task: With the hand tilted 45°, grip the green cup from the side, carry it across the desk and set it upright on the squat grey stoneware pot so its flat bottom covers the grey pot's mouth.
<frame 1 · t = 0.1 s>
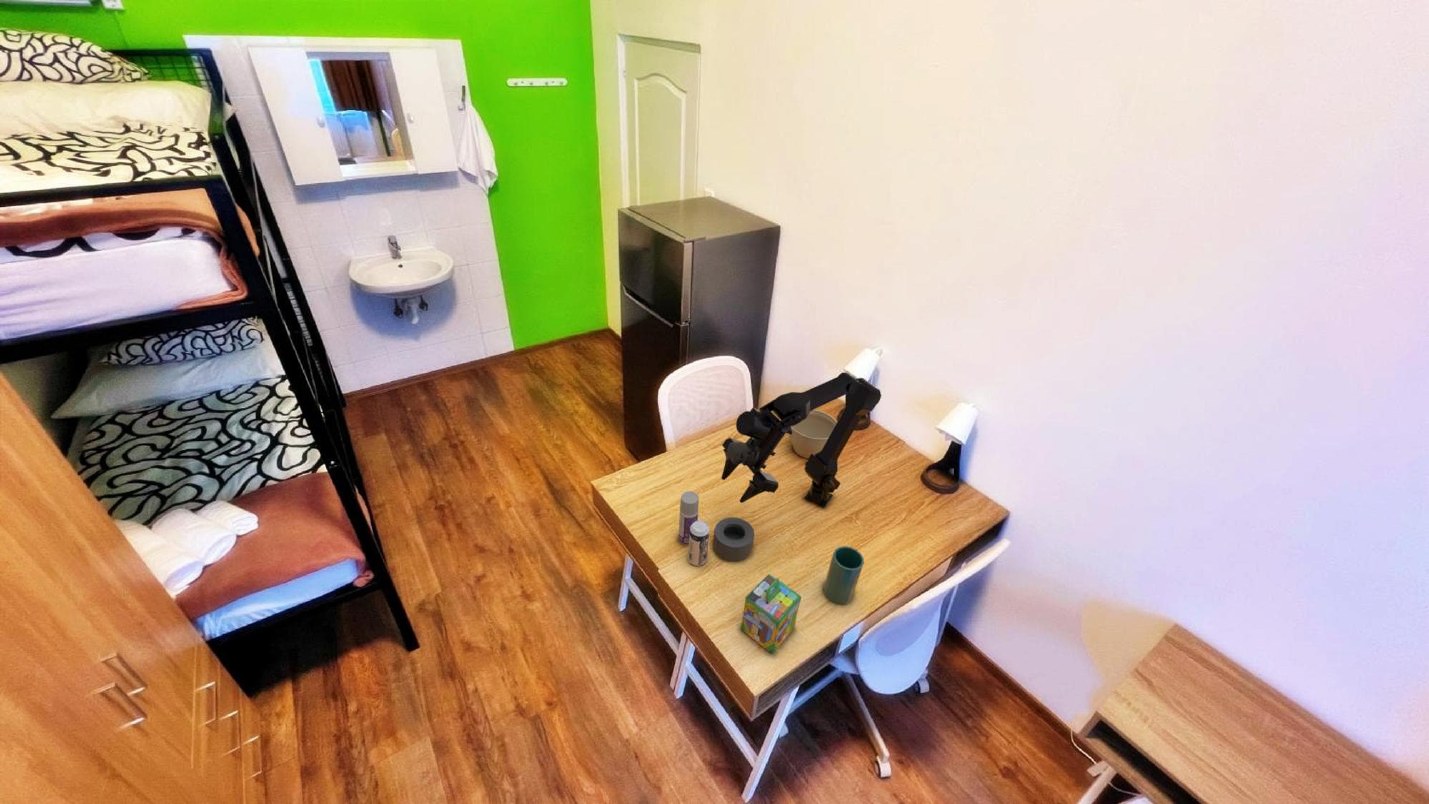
hand: (731, 490, 141), 15 cm above the table, tool tilted 35°, fingers open, 9 cm apart
grey capped bottle: (697, 559, 141), on the table
planter bowl: (808, 450, 182), on the table
grey pot: (732, 546, 145), on the table
chalk box: (767, 629, 126), on the table
green cup: (837, 592, 136), on the table
container: (687, 539, 146), on the table
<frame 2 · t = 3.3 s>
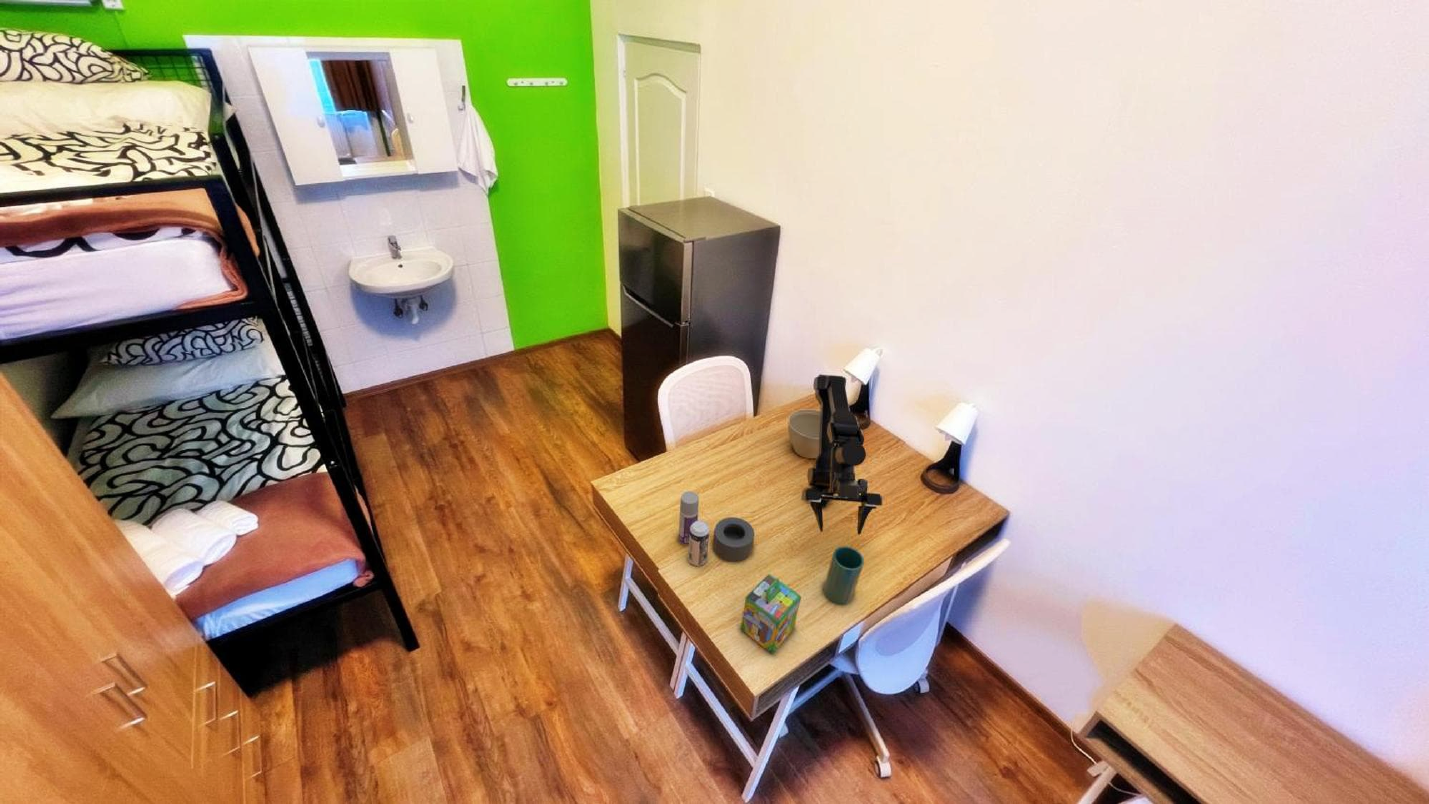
hand: (840, 533, 135), 13 cm above the table, tool tilted 45°, fingers open, 9 cm apart
nothing on the table moved.
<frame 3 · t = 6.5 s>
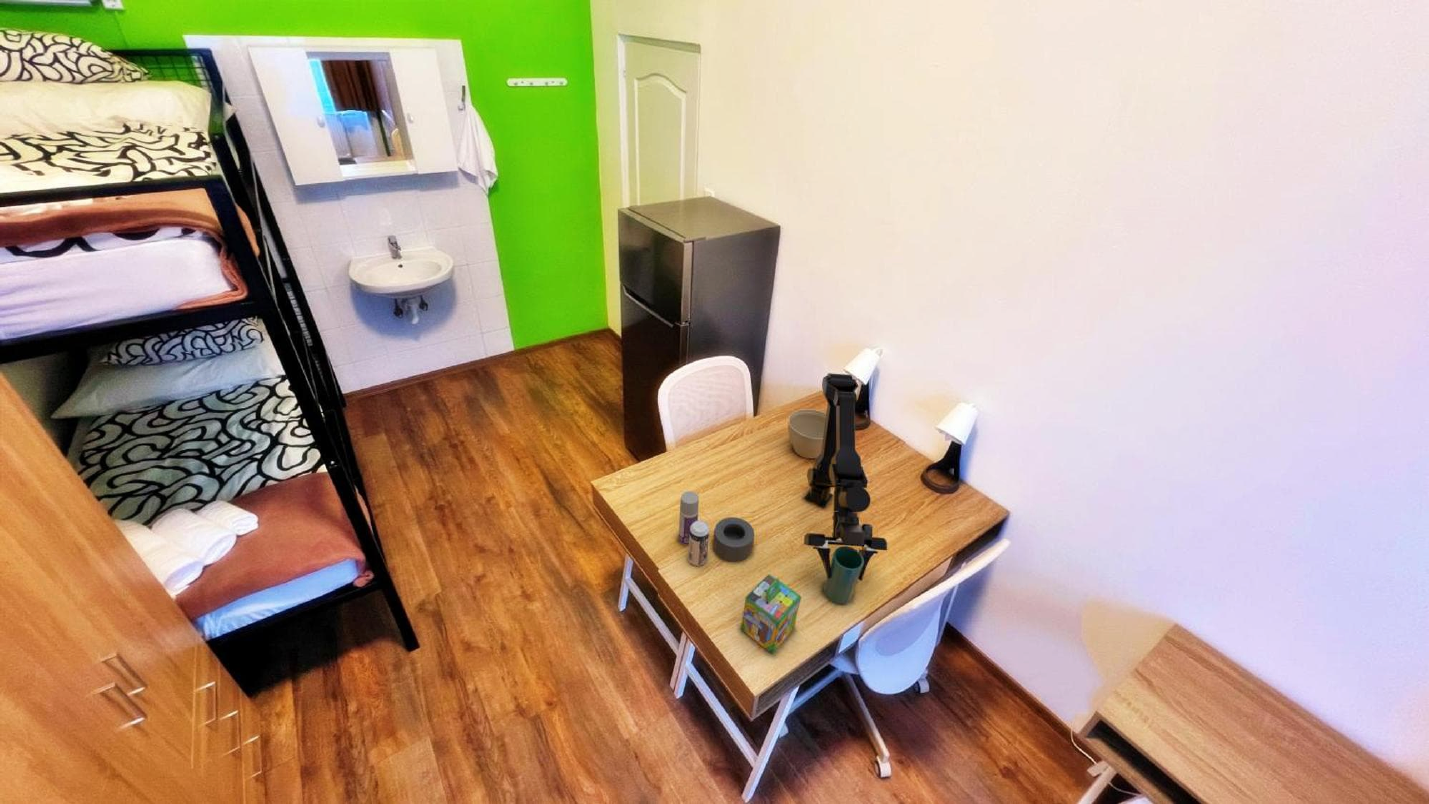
hand: (844, 579, 131), 7 cm above the table, tool tilted 45°, fingers closed on green cup, 7 cm apart
green cup: (838, 592, 136), on the table, touching gripper
everything else where it was.
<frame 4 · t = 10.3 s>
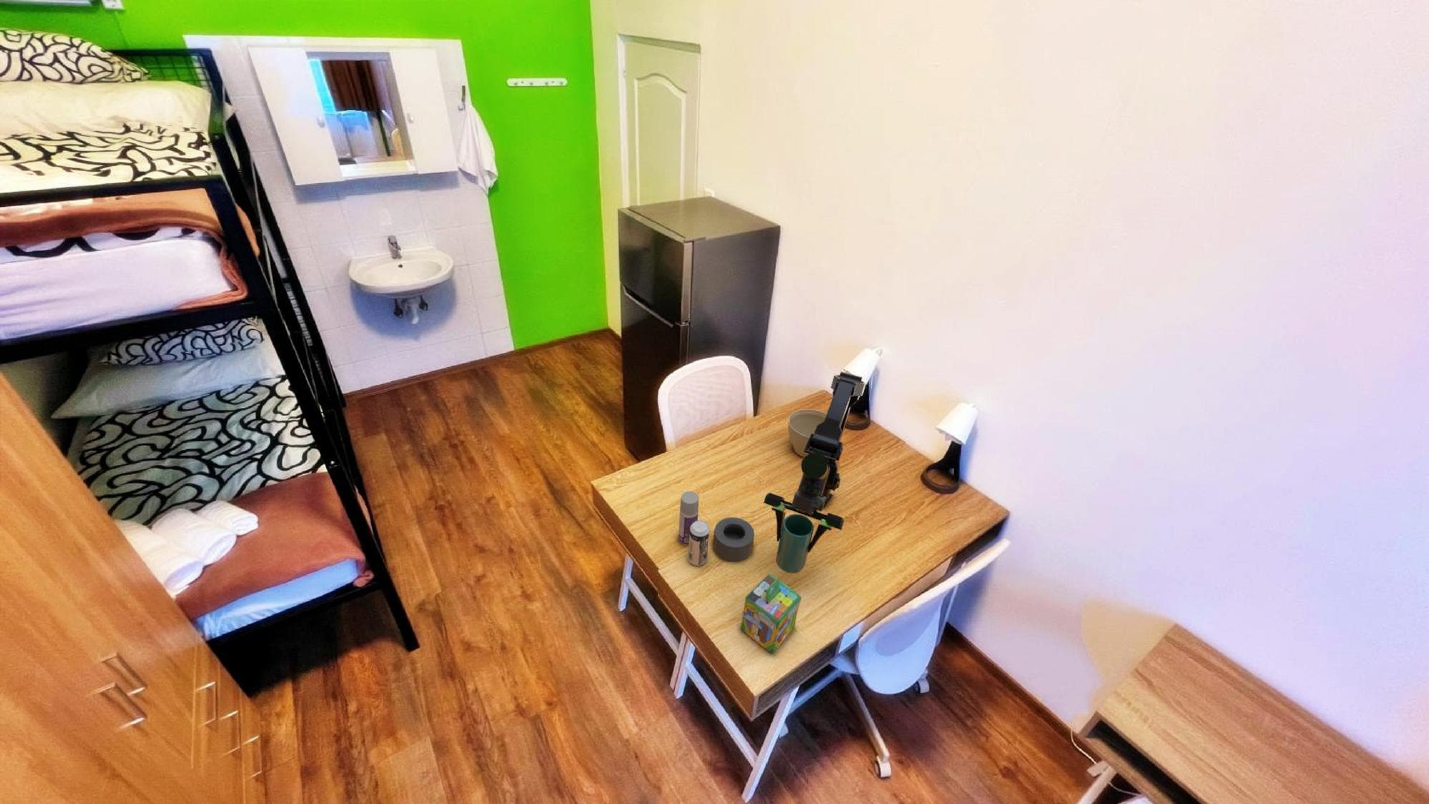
hand: (792, 546, 129), 13 cm above the table, tool tilted 45°, fingers closed on green cup, 7 cm apart
green cup: (790, 561, 134), point 7 cm above the table, touching gripper
everything else where it was.
when the fingers open (12 cm above the table, at t = 14.4 s): green cup stays where it is, resting on grey pot.
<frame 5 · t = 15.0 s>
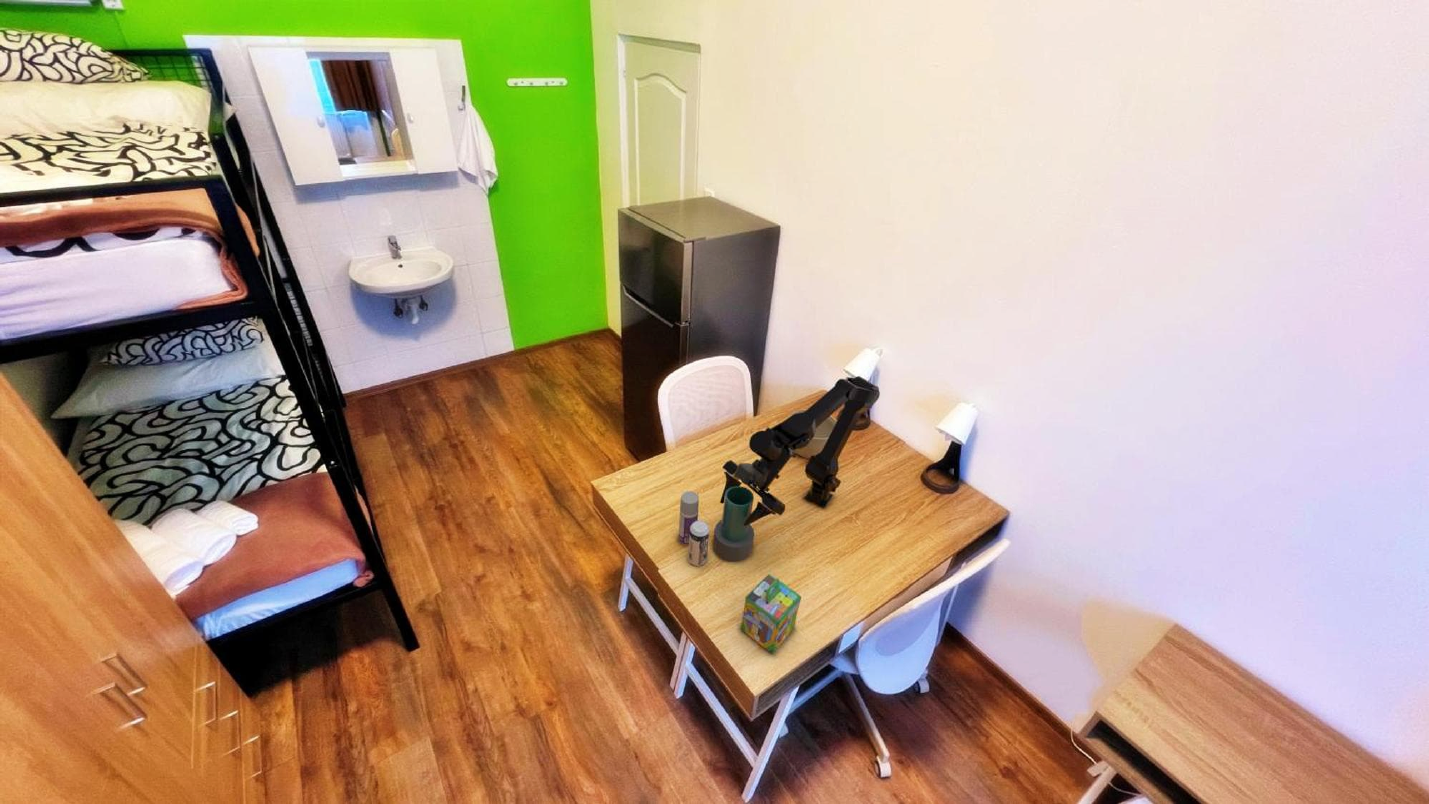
hand: (732, 514, 138), 13 cm above the table, tool tilted 45°, fingers open, 9 cm apart
green cup: (734, 531, 142), point 5 cm above the table, touching grey pot
everything else where it was.
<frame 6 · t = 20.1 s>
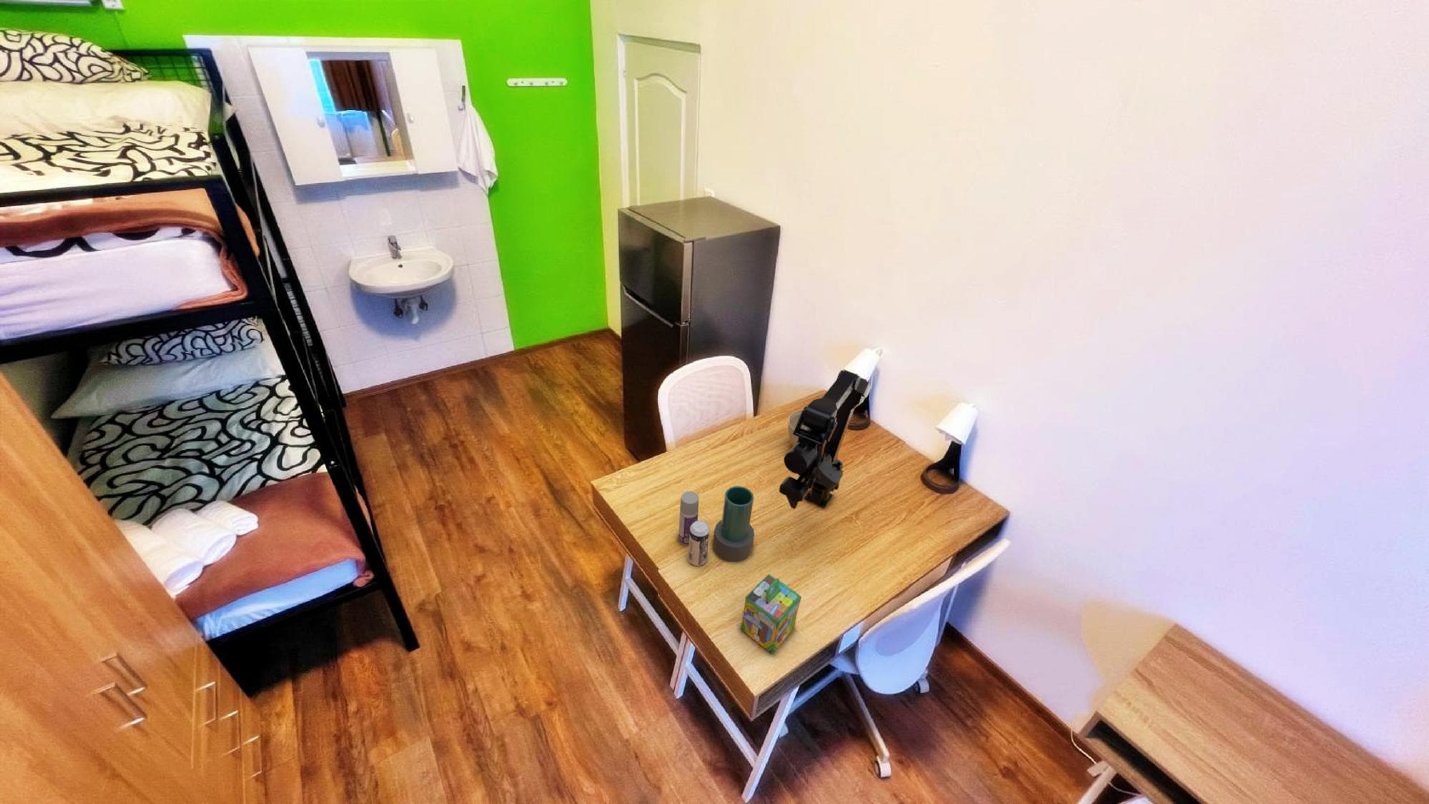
hand: (800, 497, 144), 13 cm above the table, tool pointing down, fingers open, 9 cm apart
nothing on the table moved.
at the end: green cup 0.0 cm off-centre on the grey pot, point 5.5 cm above the grey pot's base; green cup tilted 0°; the gripper is holding nothing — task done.
